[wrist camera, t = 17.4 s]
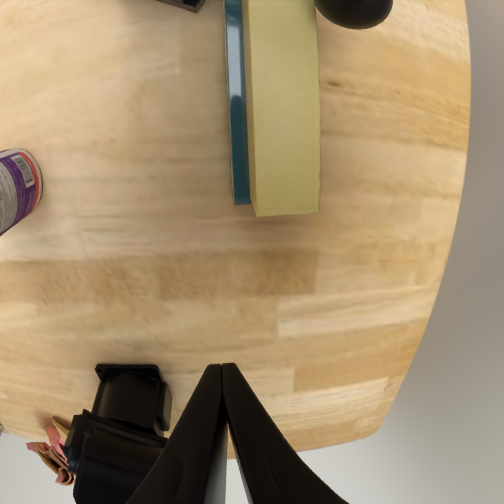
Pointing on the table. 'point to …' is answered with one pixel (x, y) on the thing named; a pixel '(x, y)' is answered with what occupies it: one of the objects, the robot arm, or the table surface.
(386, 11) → the lever handle
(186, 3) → the stand
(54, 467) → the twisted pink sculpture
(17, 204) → the pill bottle
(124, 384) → the robot arm
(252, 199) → the butter
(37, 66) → the table surface
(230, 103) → the butter dish
